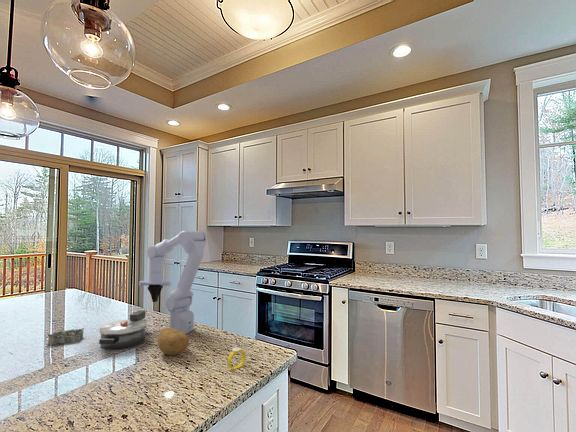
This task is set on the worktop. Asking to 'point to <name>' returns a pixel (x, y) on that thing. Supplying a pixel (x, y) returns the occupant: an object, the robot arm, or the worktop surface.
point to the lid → (125, 325)
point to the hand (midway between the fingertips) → (155, 301)
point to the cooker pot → (122, 340)
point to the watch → (234, 350)
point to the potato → (172, 341)
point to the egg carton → (65, 336)
